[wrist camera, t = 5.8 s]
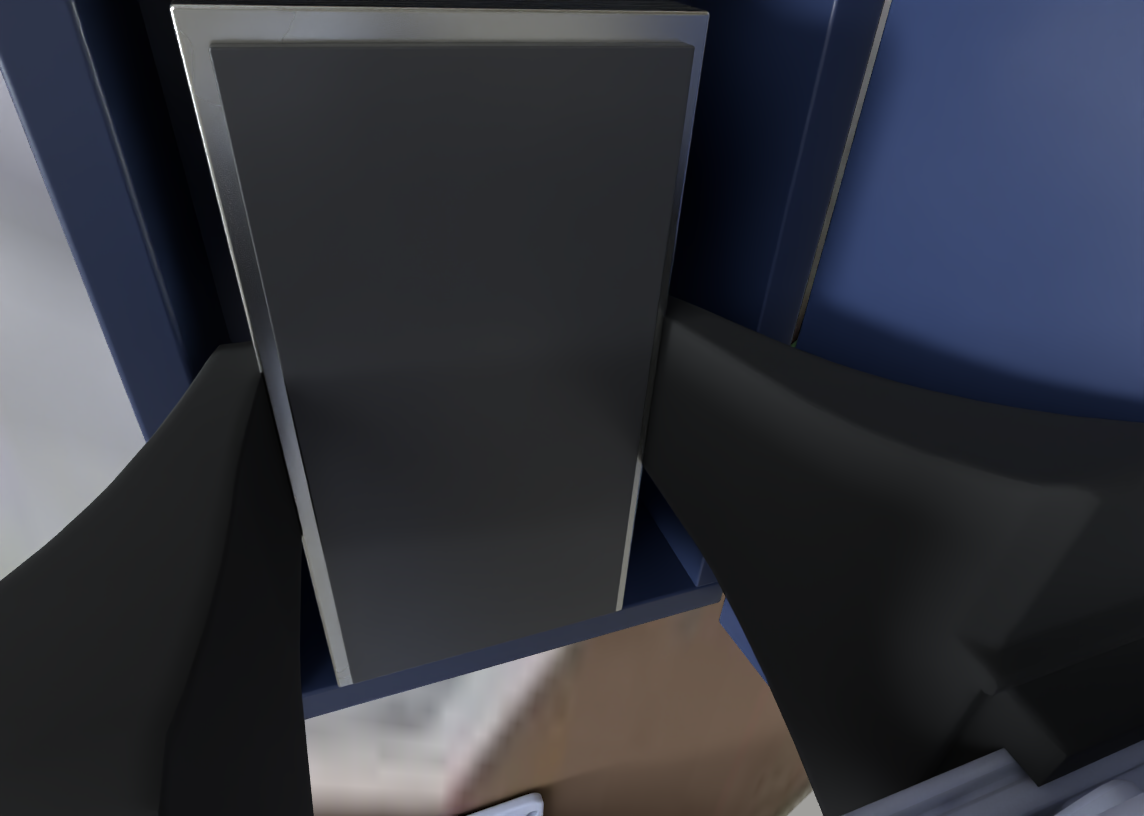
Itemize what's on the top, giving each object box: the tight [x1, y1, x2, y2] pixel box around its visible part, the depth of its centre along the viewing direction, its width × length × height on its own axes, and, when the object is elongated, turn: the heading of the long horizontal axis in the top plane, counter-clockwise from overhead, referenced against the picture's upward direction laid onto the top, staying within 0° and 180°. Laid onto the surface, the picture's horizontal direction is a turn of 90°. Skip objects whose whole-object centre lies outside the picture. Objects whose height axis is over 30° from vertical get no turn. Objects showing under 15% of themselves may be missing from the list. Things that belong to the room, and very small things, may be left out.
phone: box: [169, 0, 709, 687], centre depth 11 cm, size 10×5×3 cm, turn 178°
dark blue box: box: [0, 0, 885, 720], centre depth 12 cm, size 10×14×5 cm
